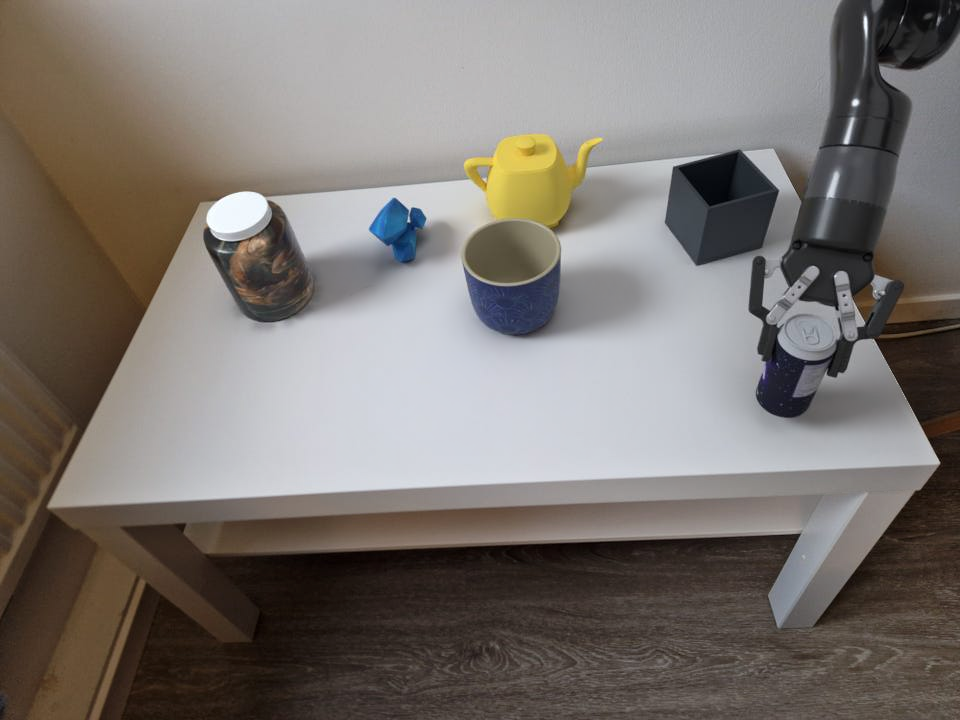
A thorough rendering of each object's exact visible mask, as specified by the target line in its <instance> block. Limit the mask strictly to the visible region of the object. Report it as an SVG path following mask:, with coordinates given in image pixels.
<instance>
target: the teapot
mask: <svg viewBox="0 0 960 720" xmlns="http://www.w3.org/2000/svg"><path fill="white" fill-rule="evenodd" d="M603 140H604V139H603V138H602V137H596V138H591V139H588V140H586V141H585V142H583V144H582V145H581V146H580V148H579V149H578V153H577V157H576V160H575V162H574V164H572V165H570V166H569V167H568V165H567V162H566V161H565V158H564V156H563V155H562V152H561V151H560V149H559V147H558V145H557V144H556V142H555V140H554V139H553V138H552V137H551V136H549V135H548V134H545V133H528V134H519V135H512V136H508V137H505V138H503V139H502V140H500V141H499V143H498V144H497V146H496V149H495V151H494V154H493V157H486V156H485V157H484V156H483V157H481V156H480V157H479V156H477V157H471V158H467V159H466V160H465V161H464V163H463V169H464V173H465V174H466V176H467V177H468V178H469V180H470V181H471V182H472V183H473V184H474V185H476V187H478V188H479V189H480V190H481V191H483V192H484V193H485V198H486V203H487V206H488V209H489V212H490V213H491V215H492V217H494V219H495V221H497V220H501V219H508V218H523V219H529V220H533V221H536V222H539V223H541V224H543V225H545V226H547V227H548V228H550V229H553V228H555V227H557V226H558V225H559V224H560V221H561V219H562V218H563V217H564V216H565V214H566V213H567V211H568V209H569V208H570V204H571V201H572V194H573V191H574V190H575V189H577V188H578V187H579V186H580V185H581V184H582V182H583V181H584V179H585V176H586V174H587V168H588V162H589V156H590V154H591V152H592V150H593V149H594V148H595V147H596V146H597V145H599V144H600V143H601V142H602V141H603ZM481 167H488V171H487V176H486V181H485V180H484V179H483V178H482V177H481V175H480V174H479V171H478V170H477V169H478V168H481Z"/></svg>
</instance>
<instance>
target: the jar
mask: <svg viewBox="0 0 960 720" xmlns="http://www.w3.org/2000/svg"><path fill="white" fill-rule="evenodd" d="M202 233H203V234H202V239H203V243H204V247H205V249H206V251H207V252H208V255H209V257H210V259H211V260H212V263H213V264H214V266H215V268H216V270H217V272H218V273H219V276H220V277H221V280H223V282H224V285H225V286H226V288H227V290H228V291H229V293H230V295H231V297H232V298H233V301H234V302H235V304H236V306H237V307H238V309H239V310H240V312H241V313H242V314H243V315H244V316H245V317H246V318H248V319H251V320H252V321H256V322H261V323H271V322H278V321H280V320H285V319H286V318H289V317H291V316H293V315H294V314H296V313H298V312H299V311H301V309H303V308H304V307H305V306H306V305H307V304H308V302H309V301H310V299H311V298H312V296H313V294H314V289H315V281H314V277H313V275H312V273H311V270H310V267H309V265H308V262H307V260H306V257H305V255H304V253H303V250H302V248H301V246H300V242H299V241H298V238H297V235H296V234H295V231H294V229H293V226H292V225H291V223H290V220H289V218H288V216H287V214H286V212H285V211H284V209H283V208H282V207H281V206H280V205H279V204H277V203H276V202H274V201H273V200H270V199H266V197H265V196H264V195H262V194H261V193H259V192H255V191H238V192H234V193H231V194H228V195H226V196H224V197H222V198H220V199H219V200H218V201H216V202H215V203H214V204H213V205H212V206H211V207H210V208H209V210H208V211H207V214H206V224H205V226H204V228H203V232H202Z"/></svg>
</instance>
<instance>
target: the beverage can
mask: <svg viewBox="0 0 960 720" xmlns="http://www.w3.org/2000/svg"><path fill="white" fill-rule="evenodd" d="M778 327H779V329H778V332H777V336H776V340H775V343H774V347H773V351H772V354H771V358H770V361H769V363H768V362H764V363H765V364H764V366H763V369H762V372H761V375H760V378H759V380H758V383H757V386H756V388H755V399H756V400H757V402H758V404H759V406H760V407H761V408H762V409H763V410H765V411H766V412H767V413H769V414H771V415H772V416H776V417H779V418H783V419H784V418H785V419H791V418H792V419H793V418H797V417H800V416H802V415H804V414H805V413H806V412H807V411H808V410H809V408H810V406H811V404H812V402H813V400H814V397H815V396H816V394H817V391H818V389H819V387H820V385H821V383H822V381H823V379H824V377H825V375H826V374H827V369H828V366H829V364H830V362H831V360H832V358H833V356H834V354H835V352H836V349H837V340H836V339H838V333H837V331H836V328H835V326H834V325H833V323H831V322H830V321H829V320H828V319H826V318H824V317H822V316H819V315H816V314H812V313H797V314H794V315H792V316H790V317H788V318H787V319H786V320H785V322H784V323H782V324H781V325H779V326H778Z"/></svg>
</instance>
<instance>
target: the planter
mask: <svg viewBox="0 0 960 720" xmlns="http://www.w3.org/2000/svg"><path fill="white" fill-rule="evenodd" d="M460 256H461V263H462V268H463V272H464V277H465V282H466V286H467V291H468V294H469V298H470V301H471V305H472V307H473V310H474V313H475V315H476V316H477V317H478V319H479V320H480V321H481V322H482V324H484V325H485V326H486V327H487V328H489V329H491V330H492V331H494V332H497V333H500V334H505V335H521V334H527V333H530V332H533V331H536V330H537V329H539V328H541V327H543V325H545V324H546V323H547V322H548V321H549V320H550V319H551V317H552V316H553V314H554V313H555V310H556V308H557V305H558V301H559V295H560V289H561V288H560V287H561V265H562V264H561V263H562V244H561V241H560V239H559V237H558V235H557V234H556V233H555V231H554V230H552V228H548V227H547V226H545V225H543V224H541V223H539V222H536V221H533V220H529V219H523V218H508V219H501V220H493V221H490V222H488V223H486V224H484V225H481V226H480V227H479V228H477V229H476V230H475V231H473V232H472V233H471V234H470V235H469V236H468V237H467V238H466V240H465V242H464V243H463V245H462V249H461V255H460Z"/></svg>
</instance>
